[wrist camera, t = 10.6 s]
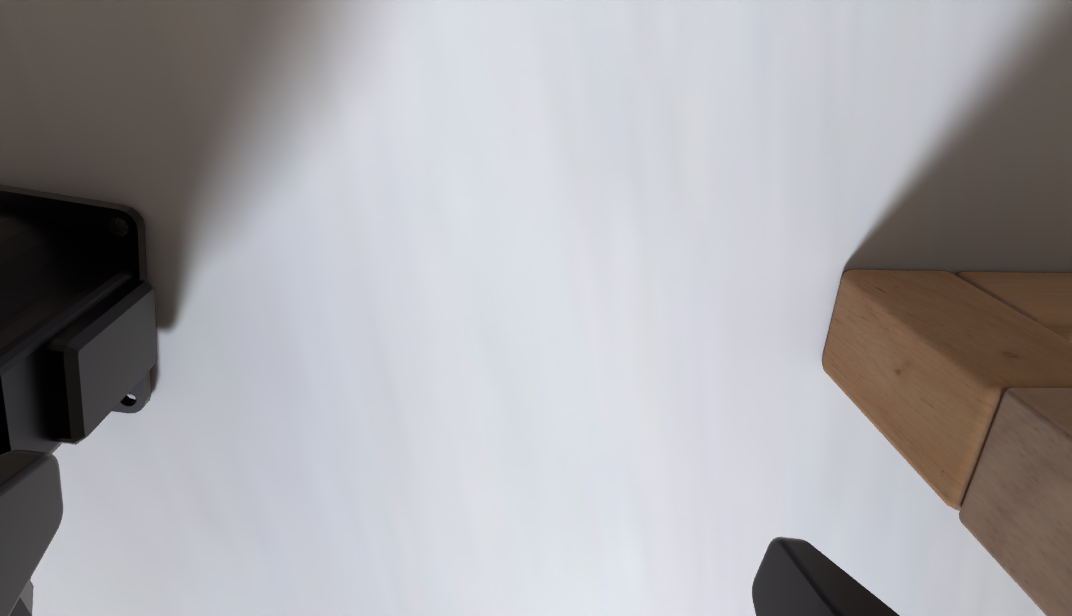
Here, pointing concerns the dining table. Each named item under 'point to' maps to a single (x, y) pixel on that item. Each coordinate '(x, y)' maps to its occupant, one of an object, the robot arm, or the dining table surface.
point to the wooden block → (973, 402)
